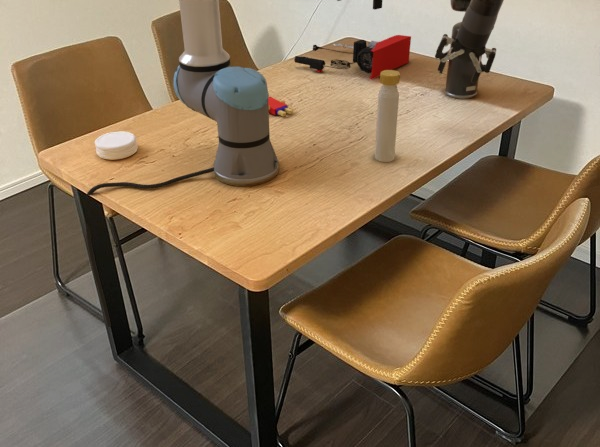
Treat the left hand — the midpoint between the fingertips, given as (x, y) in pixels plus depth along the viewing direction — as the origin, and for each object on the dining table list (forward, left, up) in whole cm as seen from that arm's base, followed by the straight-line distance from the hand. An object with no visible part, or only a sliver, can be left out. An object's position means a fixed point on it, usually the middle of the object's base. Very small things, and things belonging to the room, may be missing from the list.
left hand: (358, 4), depth 166 cm
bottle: (-20, -30, -28) cm, 46 cm away
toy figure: (-21, +12, -28) cm, 37 cm away
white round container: (-67, +17, -28) cm, 75 cm away
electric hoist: (+24, +26, -28) cm, 45 cm away
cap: (-20, -30, -7) cm, 37 cm away
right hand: (+10, -27, -15) cm, 33 cm away
